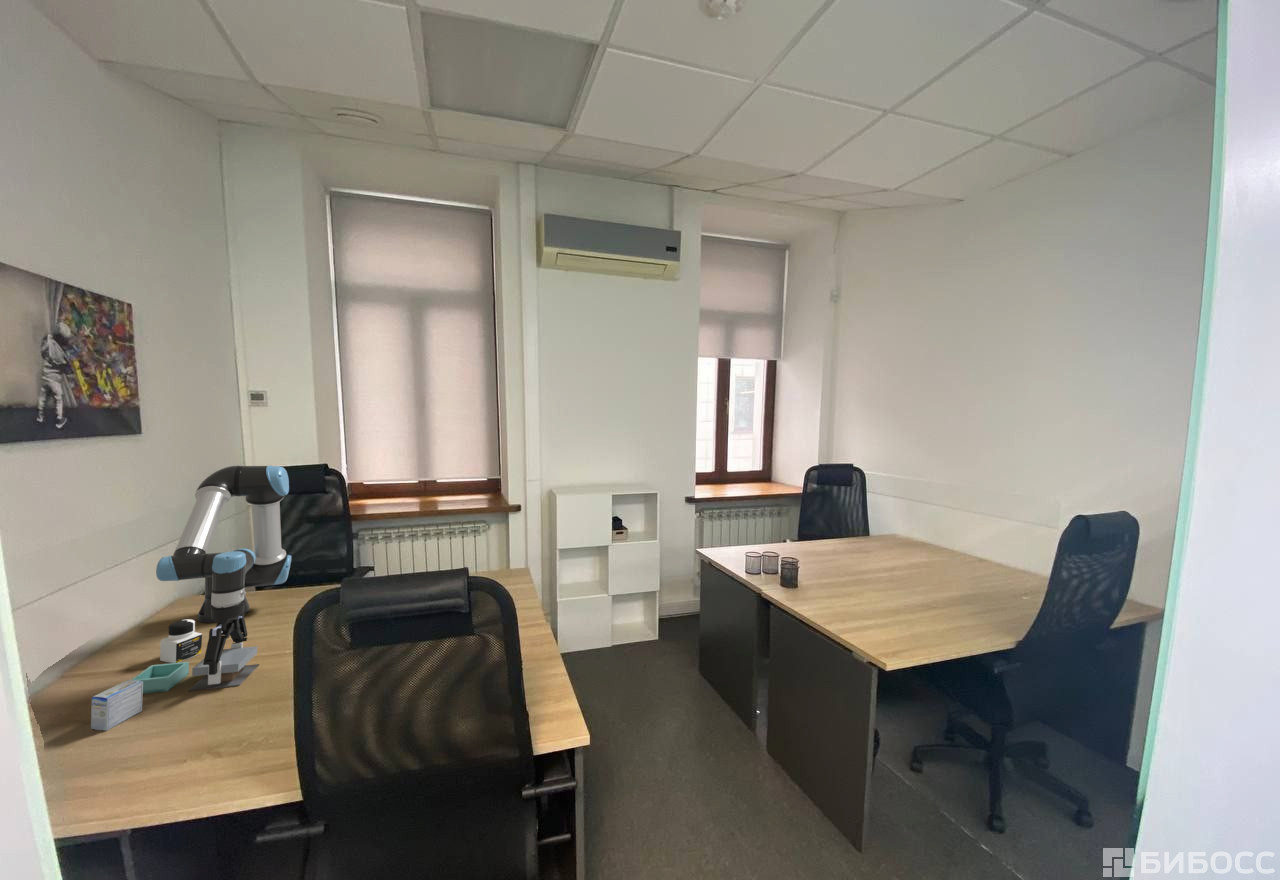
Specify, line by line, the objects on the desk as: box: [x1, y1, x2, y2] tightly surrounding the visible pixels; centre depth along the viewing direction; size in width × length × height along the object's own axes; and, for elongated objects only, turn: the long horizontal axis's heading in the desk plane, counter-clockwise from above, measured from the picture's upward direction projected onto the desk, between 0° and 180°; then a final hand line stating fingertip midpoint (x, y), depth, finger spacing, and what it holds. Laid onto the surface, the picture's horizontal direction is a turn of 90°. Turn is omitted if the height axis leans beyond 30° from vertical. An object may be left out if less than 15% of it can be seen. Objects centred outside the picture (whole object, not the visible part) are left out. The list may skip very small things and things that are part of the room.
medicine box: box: [90, 679, 143, 732], centre depth 116 cm, size 8×4×9 cm, turn 178°
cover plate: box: [191, 646, 258, 677], centre depth 136 cm, size 11×11×2 cm
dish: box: [130, 661, 190, 694], centre depth 131 cm, size 9×9×4 cm
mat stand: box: [188, 663, 260, 692], centre depth 136 cm, size 12×12×4 cm
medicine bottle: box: [159, 618, 203, 664], centre depth 146 cm, size 7×7×12 cm
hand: (225, 672), depth 136 cm, fingers open, 11 cm apart
